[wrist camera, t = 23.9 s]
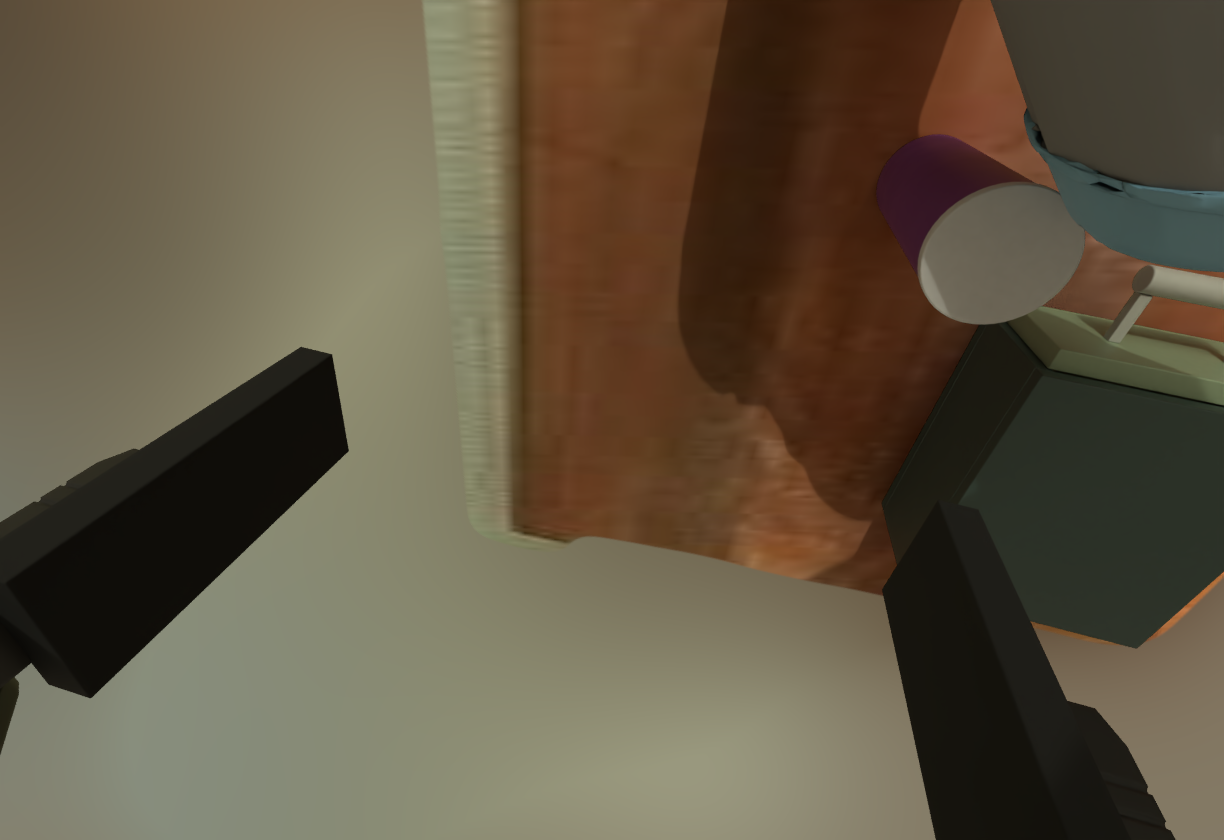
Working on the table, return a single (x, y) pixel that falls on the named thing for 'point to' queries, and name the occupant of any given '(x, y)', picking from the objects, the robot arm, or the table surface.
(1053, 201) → the snack tube
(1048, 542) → the cabinet
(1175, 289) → the drawer
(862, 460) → the table surface
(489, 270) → the table surface
